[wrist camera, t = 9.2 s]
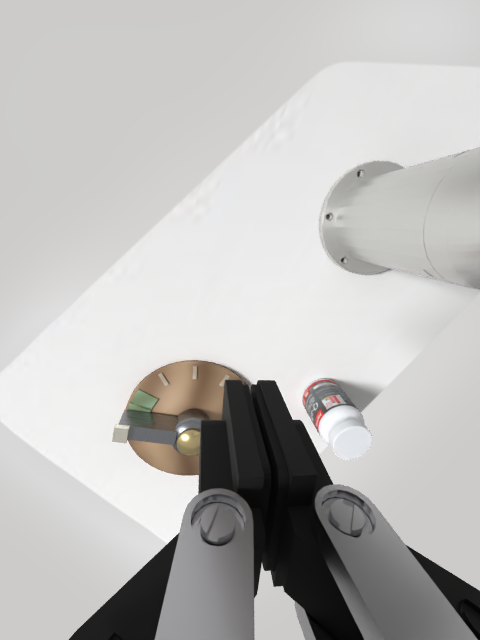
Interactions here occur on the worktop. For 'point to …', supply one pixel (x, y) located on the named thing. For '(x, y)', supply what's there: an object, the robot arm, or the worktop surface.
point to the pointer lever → (163, 429)
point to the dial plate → (179, 406)
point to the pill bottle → (336, 419)
